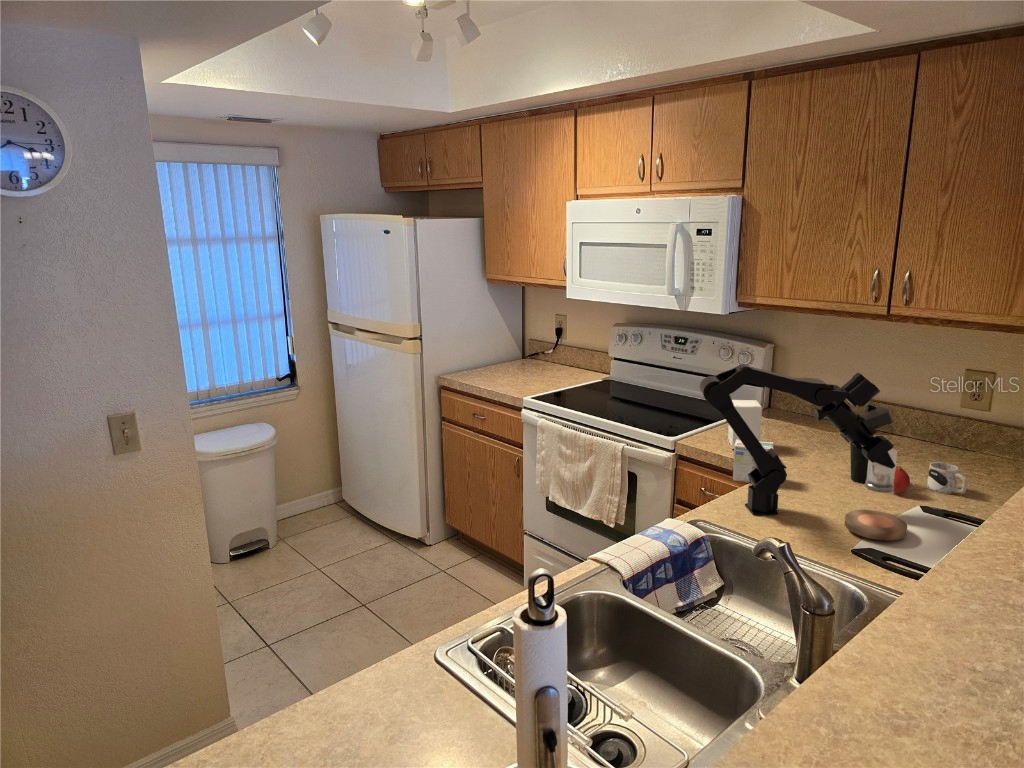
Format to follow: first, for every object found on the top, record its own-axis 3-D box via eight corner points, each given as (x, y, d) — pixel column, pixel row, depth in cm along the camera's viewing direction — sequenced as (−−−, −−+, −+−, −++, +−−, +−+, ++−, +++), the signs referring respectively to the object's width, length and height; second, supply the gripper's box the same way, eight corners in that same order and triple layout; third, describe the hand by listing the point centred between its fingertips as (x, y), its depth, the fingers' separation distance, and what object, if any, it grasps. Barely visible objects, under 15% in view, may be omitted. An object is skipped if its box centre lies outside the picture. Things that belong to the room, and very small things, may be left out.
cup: (852, 473, 196) (856, 434, 193) (880, 479, 191) (884, 439, 188) (842, 480, 191) (846, 440, 188) (871, 487, 186) (875, 446, 183)
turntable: (862, 545, 152) (863, 533, 152) (834, 521, 165) (834, 510, 164) (918, 543, 153) (919, 531, 152) (886, 519, 165) (887, 508, 165)
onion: (886, 487, 185) (889, 460, 183) (910, 492, 182) (913, 464, 180) (881, 494, 181) (884, 466, 179) (906, 498, 177) (909, 470, 175)
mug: (921, 487, 185) (923, 464, 183) (938, 483, 187) (941, 460, 186) (955, 500, 176) (959, 476, 174) (973, 496, 178) (976, 472, 177)
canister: (873, 492, 165) (877, 454, 162) (859, 483, 171) (863, 446, 169) (899, 492, 165) (903, 453, 162) (884, 482, 171) (888, 445, 169)
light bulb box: (772, 476, 195) (774, 441, 193) (771, 485, 189) (773, 448, 187) (733, 473, 199) (735, 438, 197) (732, 480, 193) (733, 445, 191)
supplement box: (760, 451, 218) (762, 406, 214) (731, 450, 219) (733, 406, 216) (754, 442, 226) (757, 399, 223) (727, 441, 228) (729, 399, 224)
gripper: (888, 407, 154) (933, 453, 155) (857, 388, 172) (898, 430, 173) (849, 439, 157) (894, 484, 158) (822, 417, 175) (863, 458, 176)
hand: (888, 462), depth 166 cm, fingers closed on canister, 6 cm apart
